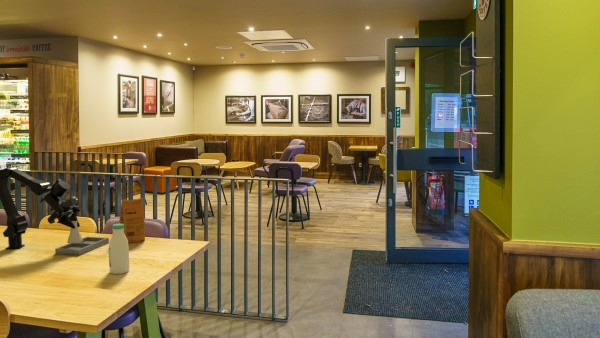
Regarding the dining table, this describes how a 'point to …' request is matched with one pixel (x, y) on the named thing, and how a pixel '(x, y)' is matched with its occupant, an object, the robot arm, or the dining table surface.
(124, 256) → the milk bottle
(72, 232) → the flask
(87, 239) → the caddy tray
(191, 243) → the dining table surface
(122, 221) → the coffee package
